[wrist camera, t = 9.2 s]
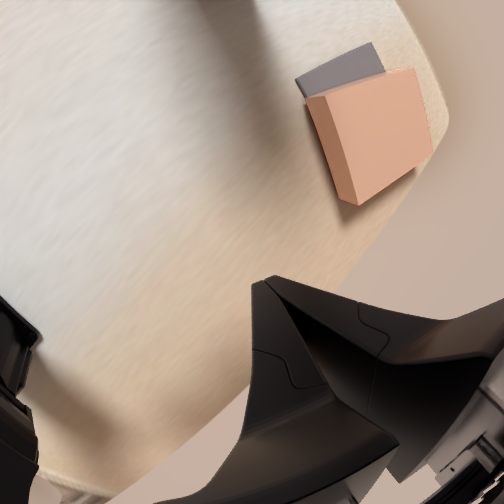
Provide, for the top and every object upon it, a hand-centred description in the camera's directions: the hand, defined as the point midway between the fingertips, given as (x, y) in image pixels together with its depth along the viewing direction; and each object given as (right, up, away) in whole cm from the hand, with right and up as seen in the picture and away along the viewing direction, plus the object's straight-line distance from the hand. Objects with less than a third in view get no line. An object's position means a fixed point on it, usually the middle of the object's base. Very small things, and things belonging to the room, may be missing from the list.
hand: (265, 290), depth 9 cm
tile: (+6, +9, +11) cm, 15 cm away
